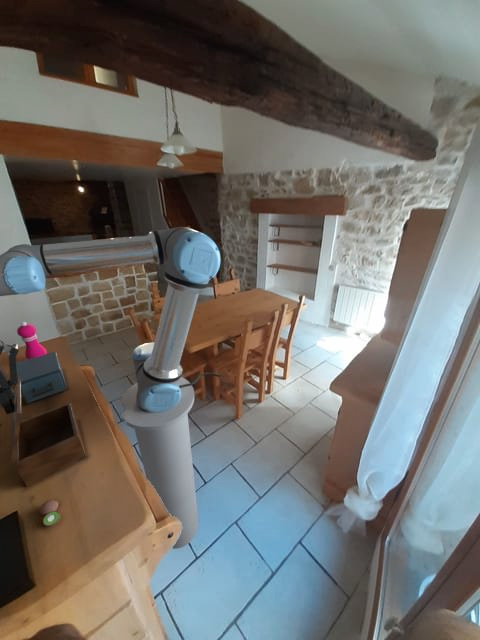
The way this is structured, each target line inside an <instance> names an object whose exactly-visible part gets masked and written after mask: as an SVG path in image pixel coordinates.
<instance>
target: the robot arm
mask: <svg viewBox="0 0 480 640" xmlns="http://www.w3.org/2000/svg"><path fill="white" fill-rule="evenodd" d="M148 263H154V264H155V265H157V266H161V265H166V267H165V270H164V275H163V278H164V280H165V281H166V283H167V288H166V292H165V297H164V301H163V305H162V310H161V314H160V316H159V317H160V318H159V322H158V326H157V331H156V333H155V337H154V338H155V339H154V342H153V341H152V342H147V343H143V344H140V345H138V346H137V347H135V348H134V349H133V351H132V353H131V354H132V357H131V359H132V360H133V365H134V372H135V377H136V383H137V385H138V391H137V395H136V401H137V405H138V407H139V408H140V409H141V410H143V411H145V412H151V413H159V412H164V411H167V410H169V409H170V408H173V407H174V406H175V405H176V404H177V403H178V402H179V400H180V398H181V389H180V388H182V387H186V386H191V385H192V386H193V385H195V384H196V383H197V382H198V381H199V380H200V378H202V377H203V376H213V377H216V378H217V377H218V378H220V377H221V374H217V373H213V372H203V373H200V374H199V375H198V376H197V377H196V378H195V380H194V381H192V382H189V384H184V385H180V386H179V382H180V378H181V377H182V374H183V371H184V369H183V366H182V365H181V360H182V357H183V354H184V353H183V352H184V349H185V346H186V341H187V339H188V334H189V331H190V328H191V324H192V320H193V317H194V313H195V310H196V307H197V303H198V300H199V295H200V293H202V292H204V291H205V290H207V288H208V284H209V281H210V280H212V279H213V278H214V277H215V276H216V275H217V273H218V271H219V270H220V266H221V252H220V249H219V247H218V245H217V244H216V242H214V240H213V239H212V238H211V237H210V236H208V235H207V234H205V233H203V232H201V231H198V230H195V229H194V228H191V227H187V226H179V227H178V226H177V227H172V228H168V229H159V230H151V231H150V232H149V233H148V234H146V235H135V236H124V237H113V238H103V239H91V240H80V241H69V242H68V241H67V242H57V243H48V244H36V245H33V244H28V243H21V244H18V245H13V246H12V247H10V248H9V249H8V250H6V251H5V252H3V253H2V254H0V297H5V296H6V297H7V296H16V295H29V294H33V293H36V292H37V293H38V292H41V291H43V290H45V288H46V282H47V281H46V277H47V276H52V275H62V274H69V273H78V272H85V271H93V270H101V269H109V268H118V267H125V266H133V265H141V264H148ZM19 350H20V349H19V344H17V343H13V344H12V345H11V344H5V343H4V341H3V340H1V339H0V356H1V354H2V353H3V351H4V353H5V355H6V356H8V367H9V377H10V378H8V377H7V375H6V373H5V370H4V368H3V367H2V365H1V364H0V405H1V407H2V409H3V411H4V412H5V414H6V415H10V414H13V412H15V405H14V398H15V390H14V389H13V388H12V387H13V386H16V384H18V375H17V363H16V362H17V356H18V353H19Z"/></svg>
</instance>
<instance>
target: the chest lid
mask: <svg viewBox="0 0 480 640" xmlns="http://www.w3.org/2000/svg"><path fill="white" fill-rule="evenodd" d="M14 393H15V397H14V399H13V403H14V405H15V412H13V413H12V418H11V441H10V442H11V448H10V450H11V451H10V465H14V464H15V463H16V454H17V445H18V436H19V427H20V421H21V418H22V394H21V378H18V384H16V385H15V389H14Z"/></svg>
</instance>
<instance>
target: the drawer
mask: <svg viewBox="0 0 480 640" xmlns="http://www.w3.org/2000/svg"><path fill="white" fill-rule="evenodd" d="M63 390H64V391H65V387H64V385H63V382H62V379H61V377H60V374H59V372H56V373H52V374H49V375H46V376H43V377H40V378H37V379H34V380H30V381H27V382H24V383H22V384H21V391H22V393H23V395H24V397H25V399H26V401H27V404H30V403H32V401H33V402H36V401H38V400H41V399H44V398H47V397H49V395H50V396H52V395H55V394H58V393H60V391H61V392H64V391H63ZM46 396H47V397H46ZM35 400H36V401H35Z"/></svg>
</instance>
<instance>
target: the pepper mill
mask: <svg viewBox="0 0 480 640" xmlns="http://www.w3.org/2000/svg"><path fill="white" fill-rule="evenodd" d="M36 332H37V328H36V327H35V326H34V325H32V324H28V323H27V322H26V321H22V322H21V323H20V326H19V327H18V328H17V330H16V334H17V335H18V336H19V337H20V339H21V340H22V342H24V344H25V352H24V355H25V356H24V357H25V359H26V360H27V359H31V358H34V357H38V356H41V355H45V354H48V352H47V350H46V348H45V347H44V346H43V345H42V344H40V343H39V340H38V339H37V338H38V335H37V333H36Z"/></svg>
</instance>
